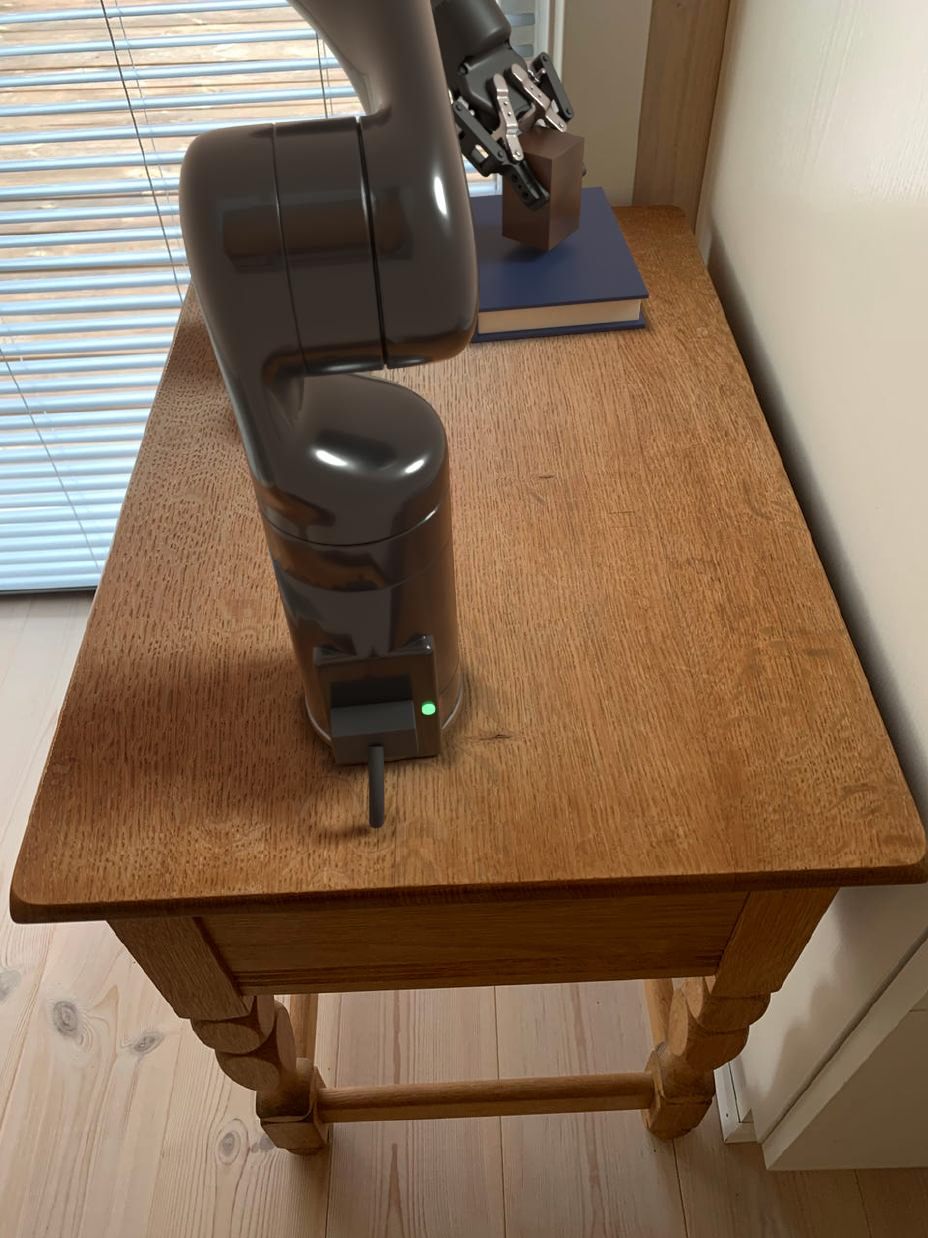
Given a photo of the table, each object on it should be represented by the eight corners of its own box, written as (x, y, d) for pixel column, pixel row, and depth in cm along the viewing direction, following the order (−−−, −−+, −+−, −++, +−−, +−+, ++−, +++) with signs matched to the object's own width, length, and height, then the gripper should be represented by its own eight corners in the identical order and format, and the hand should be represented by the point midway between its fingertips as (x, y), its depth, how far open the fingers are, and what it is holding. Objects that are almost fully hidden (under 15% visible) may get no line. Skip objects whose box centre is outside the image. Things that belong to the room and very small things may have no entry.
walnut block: (548, 251, 86) (552, 159, 80) (501, 236, 88) (501, 144, 82) (579, 228, 89) (585, 137, 83) (533, 213, 91) (535, 123, 85)
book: (645, 327, 85) (649, 294, 83) (470, 342, 84) (469, 309, 82) (599, 217, 98) (601, 185, 96) (448, 230, 98) (446, 198, 95)
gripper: (411, 4, 74) (540, 203, 78) (521, -47, 81) (633, 137, 85) (365, 66, 80) (486, 248, 84) (470, 14, 87) (577, 183, 91)
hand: (560, 191), depth 84 cm, fingers closed on walnut block, 5 cm apart
